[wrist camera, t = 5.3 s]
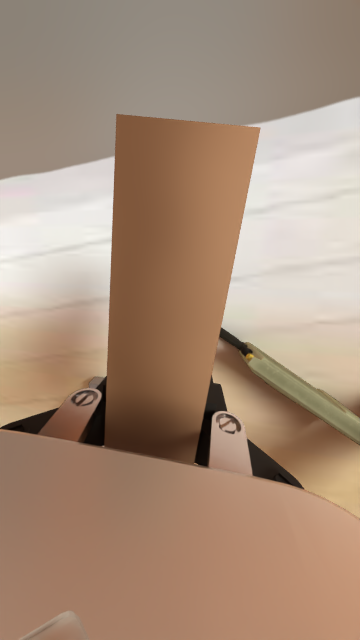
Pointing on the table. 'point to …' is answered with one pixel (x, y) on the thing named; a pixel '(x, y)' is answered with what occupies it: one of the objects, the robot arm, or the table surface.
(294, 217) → the table surface
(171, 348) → the walnut bar
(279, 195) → the table surface
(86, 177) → the table surface
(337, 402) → the handheld radio
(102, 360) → the table surface
